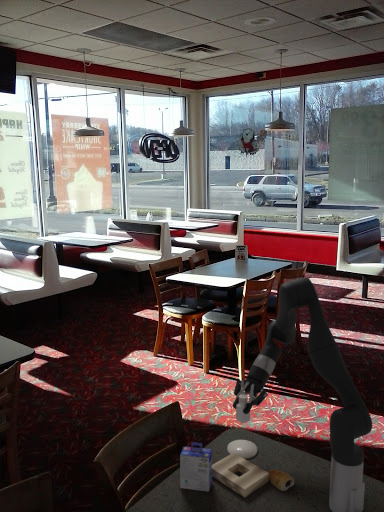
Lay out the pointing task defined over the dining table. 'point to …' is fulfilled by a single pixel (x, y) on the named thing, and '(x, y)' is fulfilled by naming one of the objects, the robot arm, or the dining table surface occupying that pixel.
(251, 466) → the socket block
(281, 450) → the dining table surface
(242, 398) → the salt shaker
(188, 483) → the ink cartridge box
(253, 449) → the white dome
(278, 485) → the pastry
